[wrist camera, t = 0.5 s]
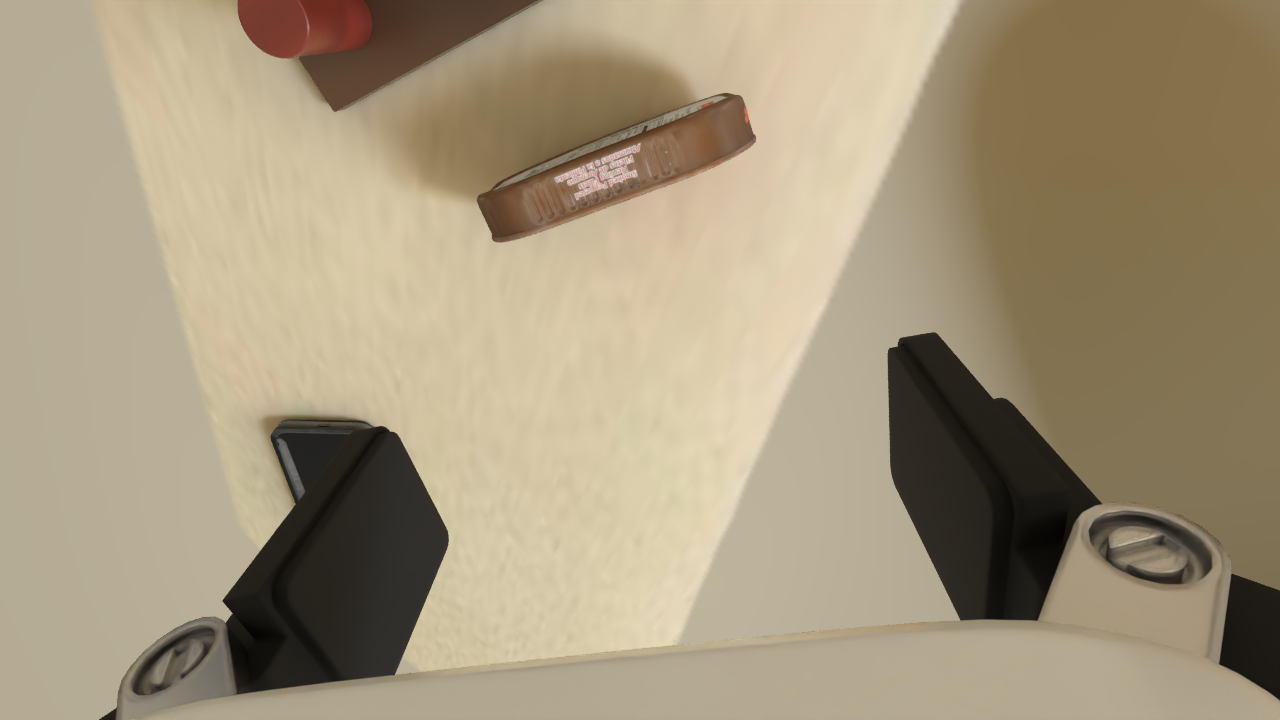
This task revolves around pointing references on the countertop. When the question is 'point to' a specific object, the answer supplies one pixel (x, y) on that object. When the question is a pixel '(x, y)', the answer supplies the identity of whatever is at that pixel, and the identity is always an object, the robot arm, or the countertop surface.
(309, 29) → the rod stand
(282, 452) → the phone
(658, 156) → the tin
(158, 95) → the countertop surface
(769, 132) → the countertop surface
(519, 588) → the countertop surface
